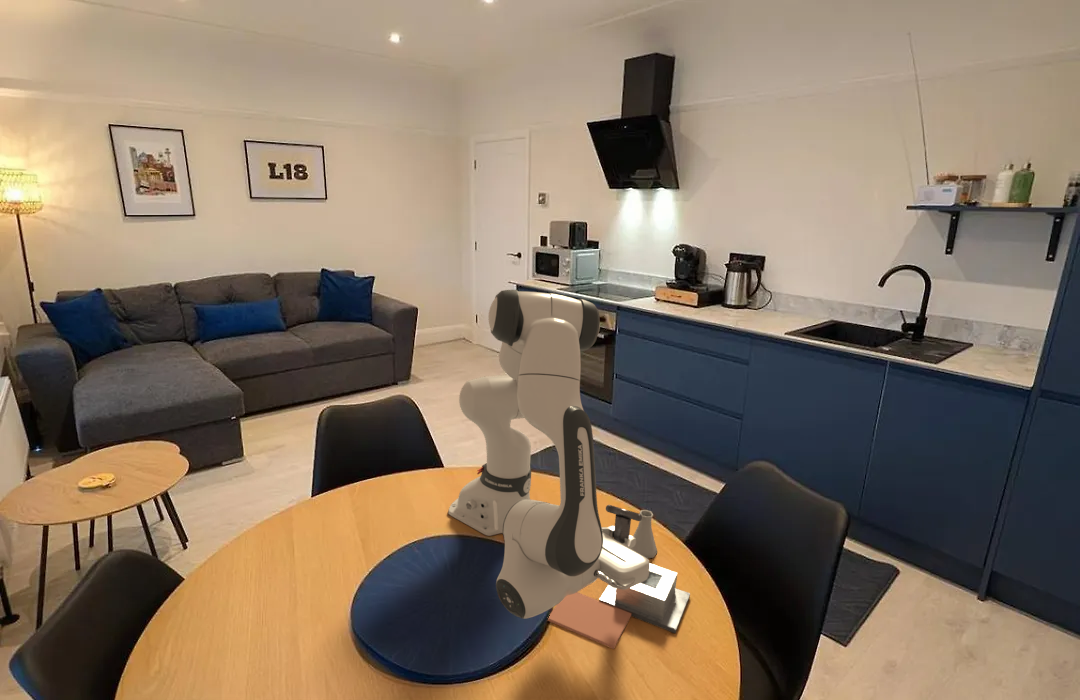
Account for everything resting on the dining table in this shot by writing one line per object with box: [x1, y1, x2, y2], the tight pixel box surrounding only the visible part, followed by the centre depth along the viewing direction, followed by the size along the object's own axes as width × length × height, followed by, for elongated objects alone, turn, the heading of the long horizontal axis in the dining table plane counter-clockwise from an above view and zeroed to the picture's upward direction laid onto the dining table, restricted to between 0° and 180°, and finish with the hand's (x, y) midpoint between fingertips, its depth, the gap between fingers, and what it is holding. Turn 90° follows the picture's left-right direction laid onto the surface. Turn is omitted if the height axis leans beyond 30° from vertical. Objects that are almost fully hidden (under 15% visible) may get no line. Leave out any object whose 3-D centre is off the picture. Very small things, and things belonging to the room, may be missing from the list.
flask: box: [631, 509, 658, 559], centre depth 131 cm, size 7×7×10 cm
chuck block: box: [598, 563, 691, 634], centre depth 115 cm, size 16×12×6 cm
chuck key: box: [605, 504, 642, 544], centre depth 108 cm, size 7×3×14 cm, turn 63°
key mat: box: [547, 591, 632, 650], centre depth 109 cm, size 14×10×1 cm
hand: (624, 534), depth 108 cm, fingers closed on chuck key, 3 cm apart
